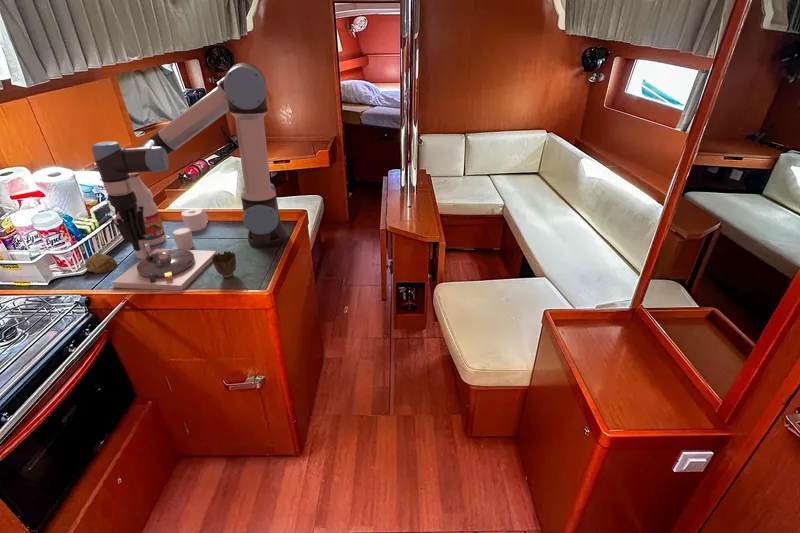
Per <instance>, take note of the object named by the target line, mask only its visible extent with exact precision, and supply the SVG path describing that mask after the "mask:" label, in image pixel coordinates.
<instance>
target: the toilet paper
mask: <svg viewBox="0 0 800 533" xmlns="http://www.w3.org/2000/svg"><path fill="white" fill-rule="evenodd" d="M180 214H181V218H182V222H183V224H184V227H187V228H190V229H191V232H196V231H197V232H198V231H201V230H204V229H206V227H207V226H208V224H207V223H209V222H208V218H209V216H208V214H207V213H206V211H205V209H204V207H203V206H202V209H201V208H190V209H186V210H183V211H182V212H181V213H180Z"/></svg>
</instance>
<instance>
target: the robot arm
mask: <svg viewBox="0 0 800 533" xmlns="http://www.w3.org/2000/svg"><path fill="white" fill-rule="evenodd" d="M266 85H267V84H266V79H265V76H264V73H262V71H261V70H260V69H259V67H258V66H256V65H255V64H252V63H249V62H239V63H236V64H234V65H232V67H230V69H229V70H227V72H226V73H225V76H223V77H222V78H221V79H220V80H219V81H217V86H216V87H215V88H213V90H211V91H210V92H209V93H206V95H204V96H203V97H202V98H200V99H199V100H198V101H196V102H195V103H194V104H193V105H191V106H190V107H189V108H187V109H186V110H185V111H183V112H182V113H181V114H179V115H178V116H176V117H175V118H174V119H173V120H171V121H170V122H168V123H167V124H166V125H164V126H163V127H162V128H161V129H159V130H158V131H156V132H155V133H154V134H152V135H151V136H149V137H147V139H145V140H144V141H143V143H142V144H140V146H138V147H128V148H127V147H126V148H125V147H122V146H121V145H120V143H119V142H117V141H115V140H114V141H110V140H107V141H100V142H96V143H94V144H93V145H91V152H92V154H93V158H94V162H95V165H96V167H97V170H98V173H99V175H100V178H101V181H102V183H103V185H104V186H103V187H104V189H105V192H106V194H107V198H108V201H109V205H110V206H111V207H113V208H114V214H115V217H114V218H112V219H111V223H112V224H113V225H114V226H115V227H116V228H117V230H118V231H119V233H120V235H121V236H122V238H123V240H124V241H125V243H129V244H130V243H131V245H132V248H133V250H134V252H135V254H136V257H137V259H143V258H146V257H147V254H146V251H145V248H144V247H145V246H144V243H143V239H145V237H143V235H145V234H146V231H145V224H144V217H143V206H137V204H136V202H137V198H136V195H135V192H134V191H133V189H134V188H133V185H132V182H131V179H130V176H129V173H138V172H139V173H152V172H153V173H154V172H155V173H158V172H162V171H167V170H168V169H169V167H170V165H169V164H170V162H169V161H170V160H169V157H168V156H170V155H171V154H172V153H173V152H175V151H176V150H177V149H179V148H180V147H181V146H183V145H184V144H185V143H187V142H189V141H190V140H192V139H193V137H195V136H197V135H198V134H199V133H201V132H202V131H203V130H204V129H206V128H207V127H209V126H210V125H212V124H213V123H214V122H216V121H217V120H218V119H219V118H221V117H222V116H223V115H225V114H226V113H228V112H229V114H231V115H232V116H233V117H234V119H235V125H236V134H237V141H238V142H237V143H238V149H239V156H240V162H241V171H242V172H241V173H242V179H243V188H242V193H241V194H240V198H241V199H240V200H241V205H242V213H243V214H242V222H243V225H244V227H245V228H246V229H247V230H248V235H247V240H248V244H249V245H250V246H251V247H253V248H258V249H265V248H267V249H268V248H273V247H276V246H280V245H282V244H284V243H285V242H286V241H287V239H288V238H287V237H288V232H287V230H286V228H285V226H284V224H283V222H282V220H281V217H280V211H279V210H280V209H279V204H278V199H277V198H278V197H277V193H276V191H277V190H276V188H275V185H274V183H271V176H270V175H271V174H270V167H269V158H268V147H267V139H266V127H265V121H264V120H265V119H264V117H266V115H267V114H268V113H269V111H268V110H269V109H268V100H267V99H268V98H267V86H266ZM141 231H142V232H141ZM283 242H284V243H283Z"/></svg>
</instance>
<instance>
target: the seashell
mask: <svg viewBox="0 0 800 533" xmlns="http://www.w3.org/2000/svg"><path fill="white" fill-rule="evenodd" d="M118 265H119V264H118V262H116V260H115V259H114V258H113V257H112V256H110V255H107V254H104V253H96V254H93V255H90V256H89V257H88V258H87V259H86V260H85V264H84V266H85V269H86V271H89V273H91V272H92V273H95V274H104V273H108V272H112V271H113V270H116V269H117V267H118Z"/></svg>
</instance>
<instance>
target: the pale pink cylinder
mask: <svg viewBox="0 0 800 533" xmlns="http://www.w3.org/2000/svg"><path fill="white" fill-rule="evenodd" d="M171 235H172V237H173V240H174V242H175V245H176V246H177V249H182V250H192V248H194V247H195V246H194V240H193V235H192V231H191V229H190V228H187V227H185V226H184V227H178V228H175V229H174V230H172V231H171Z"/></svg>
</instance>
